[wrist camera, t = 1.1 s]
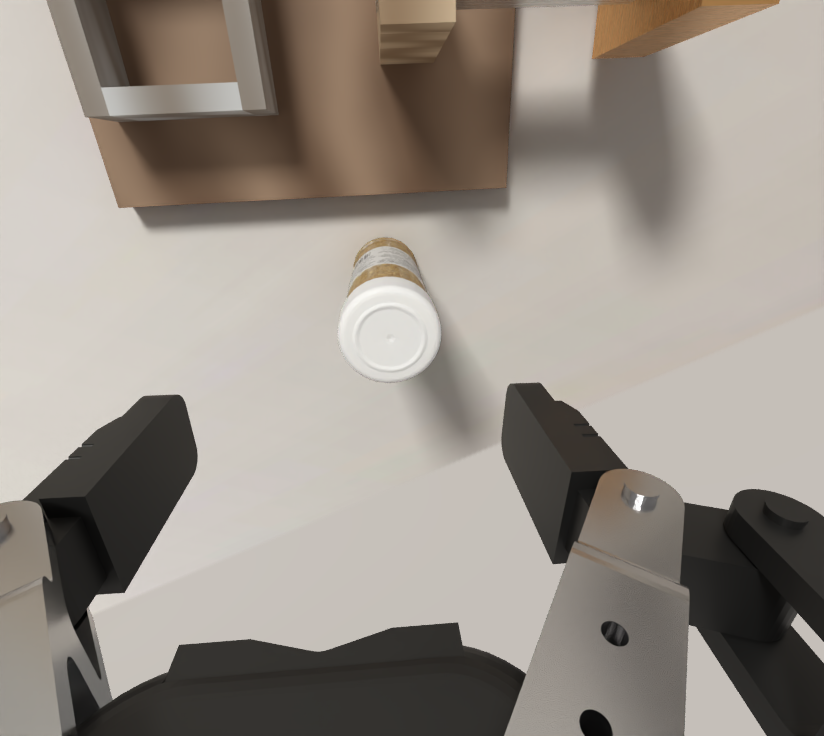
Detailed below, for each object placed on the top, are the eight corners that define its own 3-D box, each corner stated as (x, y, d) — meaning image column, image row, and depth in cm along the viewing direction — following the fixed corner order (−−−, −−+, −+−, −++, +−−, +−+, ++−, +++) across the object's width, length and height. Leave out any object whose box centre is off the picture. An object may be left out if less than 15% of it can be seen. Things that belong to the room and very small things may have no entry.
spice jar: (383, 311, 32) (385, 404, 19) (339, 265, 30) (312, 335, 18) (430, 271, 30) (464, 343, 18) (388, 220, 29) (395, 263, 17)
